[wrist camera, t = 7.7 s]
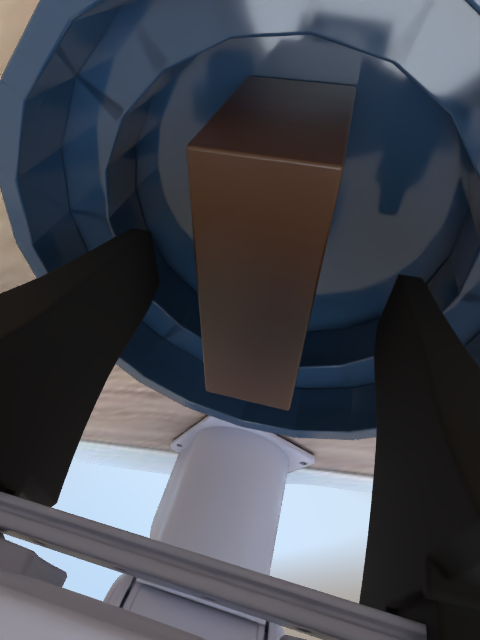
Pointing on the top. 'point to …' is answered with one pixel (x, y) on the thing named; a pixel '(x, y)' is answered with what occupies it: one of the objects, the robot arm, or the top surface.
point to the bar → (264, 228)
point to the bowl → (173, 182)
